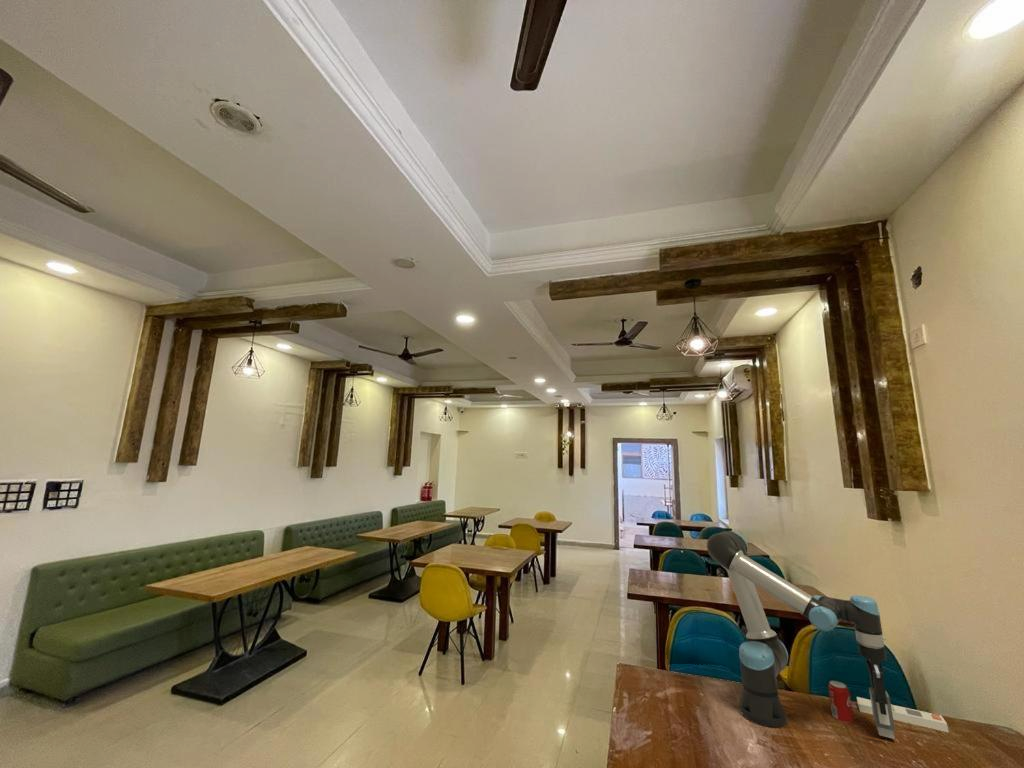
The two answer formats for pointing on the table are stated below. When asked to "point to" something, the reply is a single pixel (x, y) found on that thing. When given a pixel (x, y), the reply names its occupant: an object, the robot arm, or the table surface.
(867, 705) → the power strip
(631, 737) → the table surface
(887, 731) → the charger
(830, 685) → the beverage can
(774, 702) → the robot arm
